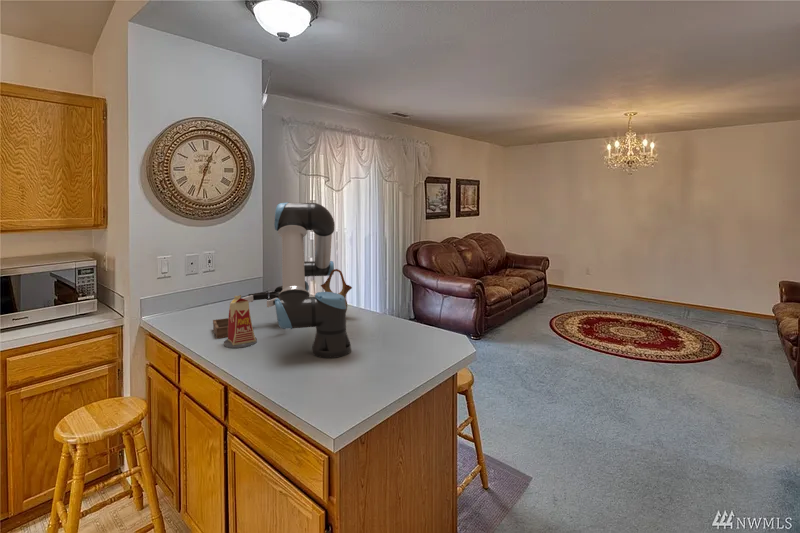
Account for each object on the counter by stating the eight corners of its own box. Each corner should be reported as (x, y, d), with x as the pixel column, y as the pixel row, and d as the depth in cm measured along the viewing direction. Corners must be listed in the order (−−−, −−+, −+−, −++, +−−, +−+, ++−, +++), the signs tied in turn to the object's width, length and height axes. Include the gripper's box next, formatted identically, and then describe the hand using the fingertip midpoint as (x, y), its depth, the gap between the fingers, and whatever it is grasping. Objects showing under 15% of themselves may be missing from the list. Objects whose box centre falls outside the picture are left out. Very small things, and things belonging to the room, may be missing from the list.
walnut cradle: (251, 333, 186) (250, 323, 185) (217, 338, 179) (216, 328, 179) (245, 325, 198) (245, 315, 197) (213, 329, 191) (212, 320, 191)
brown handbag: (353, 317, 212) (355, 269, 209) (347, 322, 203) (349, 271, 200) (323, 314, 216) (324, 266, 212) (316, 318, 207) (317, 268, 204)
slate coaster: (259, 344, 172) (259, 343, 172) (226, 350, 166) (226, 348, 166) (253, 335, 183) (253, 333, 183) (221, 340, 177) (221, 338, 177)
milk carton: (256, 341, 174) (253, 294, 171) (233, 345, 169) (230, 297, 165) (249, 335, 181) (246, 290, 178) (226, 339, 176) (223, 293, 172)
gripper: (307, 302, 197) (279, 314, 177) (264, 298, 206) (232, 308, 186) (307, 287, 196) (278, 296, 176) (263, 283, 205) (231, 291, 185)
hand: (254, 302), depth 181 cm, fingers open, 13 cm apart
